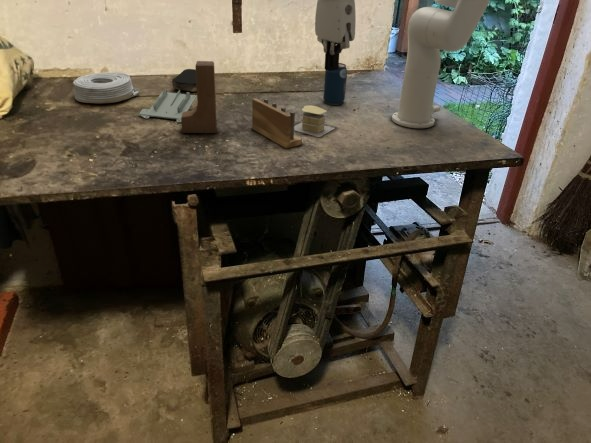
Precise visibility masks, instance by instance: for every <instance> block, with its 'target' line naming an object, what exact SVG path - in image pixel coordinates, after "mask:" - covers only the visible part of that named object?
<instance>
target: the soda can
mask: <svg viewBox="0 0 591 443" xmlns="http://www.w3.org/2000/svg"><path fill="white" fill-rule="evenodd" d="M324 70H325V69H324ZM347 78H348V69H347V65H346V64H345V63H342V62H339V68H338V70H333V71H328V70H325V72H324V85H323V97H322V98H323V101H324V102H325V104H327V105H331V106H338V105H342V104H343V103H344V101H345V100H346V90H347V80H348V79H347Z"/></svg>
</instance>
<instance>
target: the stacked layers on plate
mask: <svg viewBox="0 0 591 443" xmlns="http://www.w3.org/2000/svg"><path fill="white" fill-rule="evenodd" d="M301 111H302V113H301V116H302V119H301V121H300V122H299V123H297V124H294V132H299V133H303V134H307V135H309V136H314V137H317V138H321V137H323V136H324V135H326V134H327V133H330V132H331V131H333V130H335V129H336V128H335V127H333V126H329V125H326V124H327V121H326V117H328V115H327V114H325V113H326V112H327V110H326V109H324V108H322V107H319V106H316V105H311V104H309V105H304V107H303V108H301Z"/></svg>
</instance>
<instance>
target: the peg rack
mask: <svg viewBox="0 0 591 443" xmlns="http://www.w3.org/2000/svg"><path fill="white" fill-rule="evenodd" d="M251 101H252V102H251V106H252V110H251V111H252V112H251V114H252V115H251V116H252V117H251V118H252V120H251V121H252V126H251V128H252V130H254V131H255V132H257V133H259V134H261V135H262V136H263V137H265V138H268V139H269V140H271V141H273V142H274V143H276V144H278V145H280V146H281V147H283V148H284V149H289V148H293V147H297V146H301V145H302V143H303V142H302V141H303V140H302V138H301V137H298V136H297V135H295V130H294V126H295V122H296V119H295V118H296V112H295V111H293V110H292V111H291V110H290V112H289V113H287V112H286V111H287V109H286V106H281V107H280V109H279V108H277V107H278V103H277V102H272V103H271V104H269V98H263V101H262V100H261V99H258V98H255V97H254V98H252V100H251Z"/></svg>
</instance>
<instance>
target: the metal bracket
mask: <svg viewBox="0 0 591 443" xmlns="http://www.w3.org/2000/svg"><path fill="white" fill-rule="evenodd" d="M196 99H197V94H196V95H195V94H191V91H186V93H181V90H179V89H178V91H177V92H168V90H167V89H163V91H161V93H160V94H159V96H157V98H156V99H155V101H154V102H153V104H152V105H151V107H150V108H142V109H141V111H140V112H139V114H138V116H139V117H141V118H143V119H145V120H147V119H149V118H150V117H152V118H160V119H168V120H176V123H181V117H182V113H183V112H186V111H190V108H191V106H192V105H193V103H194V102H195V100H196Z"/></svg>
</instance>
